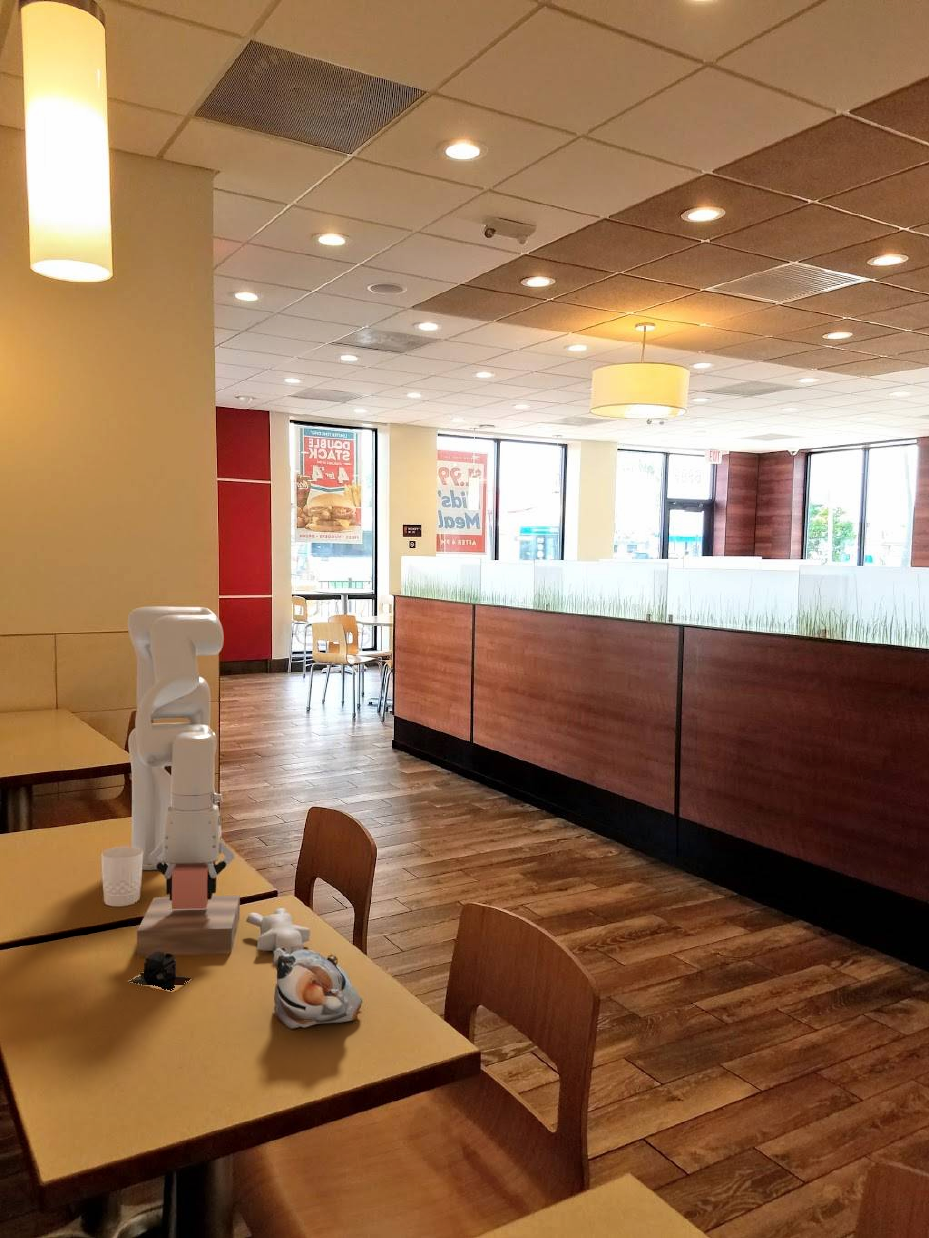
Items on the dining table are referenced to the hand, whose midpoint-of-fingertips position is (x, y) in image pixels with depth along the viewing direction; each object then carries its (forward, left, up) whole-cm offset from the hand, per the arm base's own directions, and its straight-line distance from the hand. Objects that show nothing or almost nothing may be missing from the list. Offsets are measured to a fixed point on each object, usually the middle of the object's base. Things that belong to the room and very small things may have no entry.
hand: (191, 896), depth 170 cm
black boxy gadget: (+18, -3, -8) cm, 20 cm away
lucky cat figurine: (+33, +23, -8) cm, 41 cm away
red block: (0, 0, -1) cm, 1 cm away
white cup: (-19, -16, -8) cm, 26 cm away
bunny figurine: (+5, +16, -8) cm, 18 cm away
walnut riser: (0, 0, -8) cm, 8 cm away
